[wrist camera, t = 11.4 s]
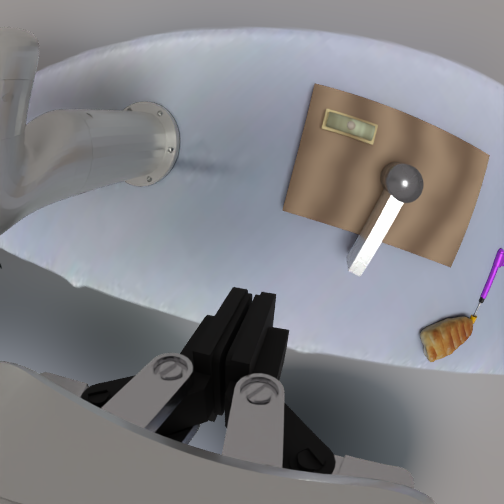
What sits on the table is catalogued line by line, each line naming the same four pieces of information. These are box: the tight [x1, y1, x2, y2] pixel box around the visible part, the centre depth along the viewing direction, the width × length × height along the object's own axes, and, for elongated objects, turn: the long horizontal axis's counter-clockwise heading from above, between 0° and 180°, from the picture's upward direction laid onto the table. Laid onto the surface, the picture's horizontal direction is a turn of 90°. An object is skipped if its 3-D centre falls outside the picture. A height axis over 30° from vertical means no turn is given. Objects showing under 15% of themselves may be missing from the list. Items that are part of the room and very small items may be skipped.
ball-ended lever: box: [346, 162, 424, 276], centre depth 30 cm, size 14×4×4 cm, turn 157°
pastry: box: [420, 316, 473, 362], centre depth 35 cm, size 9×7×4 cm
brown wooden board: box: [283, 84, 490, 267], centre depth 30 cm, size 24×16×5 cm, turn 77°
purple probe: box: [470, 249, 504, 324], centre depth 33 cm, size 3×1×16 cm
